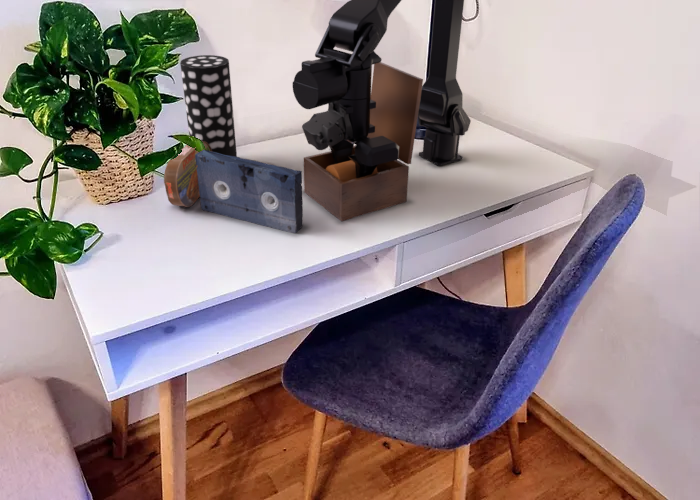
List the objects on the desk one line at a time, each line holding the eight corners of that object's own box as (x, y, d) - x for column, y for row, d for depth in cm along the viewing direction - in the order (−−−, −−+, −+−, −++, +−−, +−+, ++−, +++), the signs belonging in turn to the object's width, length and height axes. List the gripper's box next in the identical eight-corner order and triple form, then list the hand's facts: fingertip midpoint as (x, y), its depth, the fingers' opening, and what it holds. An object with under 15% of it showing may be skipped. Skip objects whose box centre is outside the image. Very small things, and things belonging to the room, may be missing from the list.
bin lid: (419, 79, 98) (423, 79, 98) (374, 60, 106) (377, 60, 107) (407, 164, 105) (410, 163, 105) (365, 140, 113) (369, 140, 114)
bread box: (341, 221, 102) (341, 184, 99) (304, 192, 111) (303, 157, 107) (406, 201, 108) (409, 166, 105) (366, 175, 117) (367, 142, 114)
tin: (183, 215, 103) (176, 168, 98) (165, 213, 103) (157, 167, 99) (217, 177, 115) (213, 134, 111) (201, 176, 116) (196, 133, 112)
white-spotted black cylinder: (184, 171, 118) (170, 64, 107) (209, 155, 124) (198, 53, 114) (222, 179, 115) (211, 70, 104) (245, 162, 122) (237, 58, 111)
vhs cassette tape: (304, 227, 100) (302, 170, 95) (294, 235, 98) (292, 177, 93) (210, 202, 107) (204, 148, 102) (200, 209, 105) (193, 154, 100)
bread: (361, 177, 112) (362, 151, 109) (378, 189, 108) (379, 162, 106) (323, 187, 108) (323, 161, 106) (339, 200, 105) (340, 172, 102)
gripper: (280, 86, 102) (284, 173, 111) (341, 121, 89) (340, 217, 97) (338, 76, 108) (337, 160, 116) (403, 108, 94) (398, 200, 103)
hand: (351, 183), depth 108 cm, fingers closed on bread, 5 cm apart
